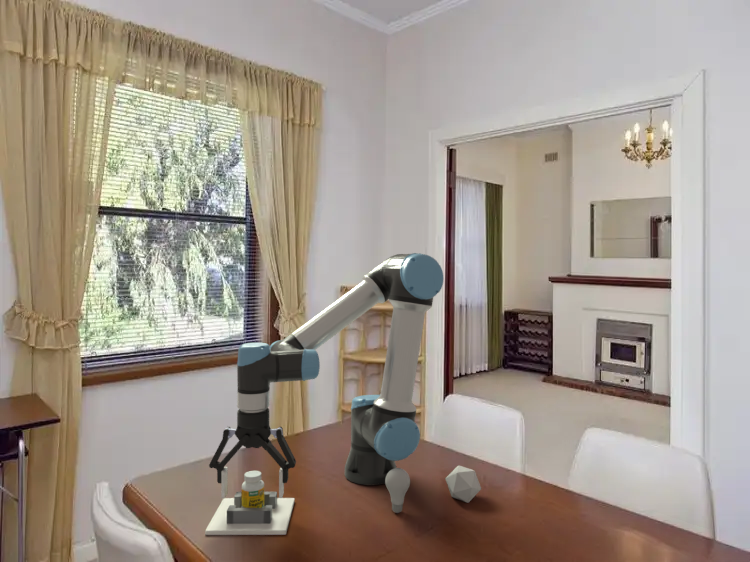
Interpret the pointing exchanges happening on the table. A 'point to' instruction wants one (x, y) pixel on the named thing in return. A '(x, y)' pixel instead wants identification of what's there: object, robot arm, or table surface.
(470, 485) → the die
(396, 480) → the lightbulb
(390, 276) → the robot arm
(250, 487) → the supplement bottle
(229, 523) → the socket
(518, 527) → the table surface
